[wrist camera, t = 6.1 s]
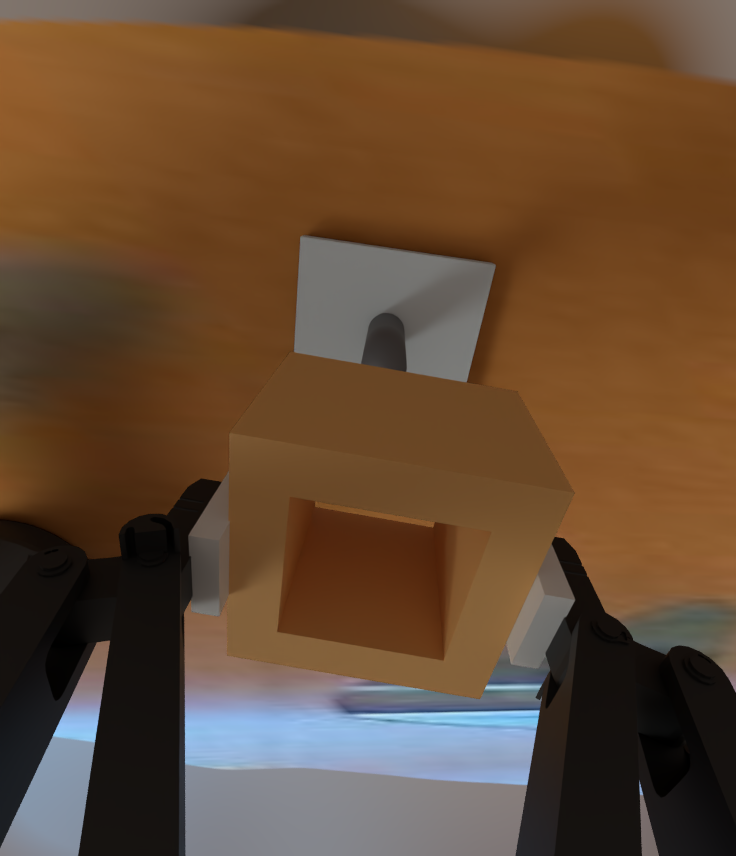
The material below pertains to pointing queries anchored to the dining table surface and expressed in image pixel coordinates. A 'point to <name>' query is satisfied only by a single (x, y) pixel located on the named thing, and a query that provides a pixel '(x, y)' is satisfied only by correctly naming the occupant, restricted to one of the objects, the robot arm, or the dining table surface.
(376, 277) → the keeper board
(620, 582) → the dining table surface
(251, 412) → the link
